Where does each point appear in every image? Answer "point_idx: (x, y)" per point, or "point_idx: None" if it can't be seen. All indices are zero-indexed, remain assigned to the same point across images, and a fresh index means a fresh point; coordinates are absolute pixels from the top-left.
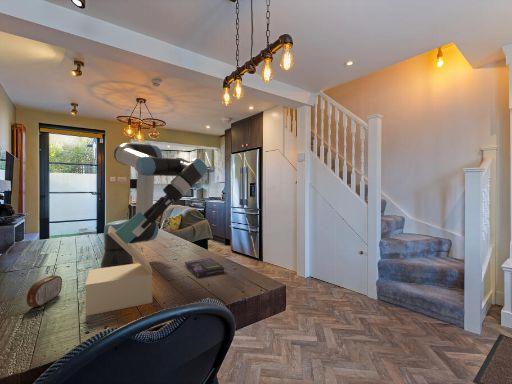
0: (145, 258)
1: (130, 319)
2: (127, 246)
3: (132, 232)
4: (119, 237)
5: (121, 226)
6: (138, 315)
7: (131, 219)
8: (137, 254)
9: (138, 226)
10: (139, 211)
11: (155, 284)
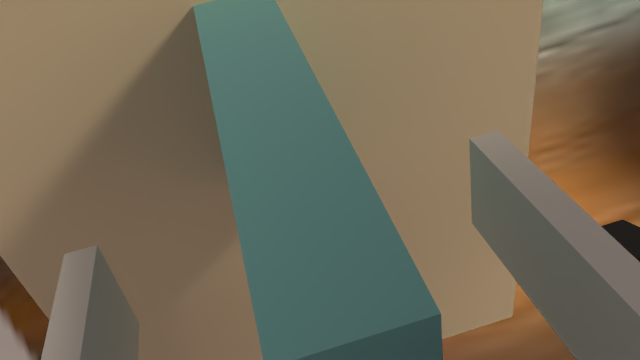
0: (490, 309)
1: (11, 314)
2: (86, 223)
3: (65, 260)
4: (168, 91)
5: (278, 32)
6: (43, 344)
7: (225, 169)
8: (237, 296)
9: (44, 356)
10: (392, 328)
11: (471, 355)
